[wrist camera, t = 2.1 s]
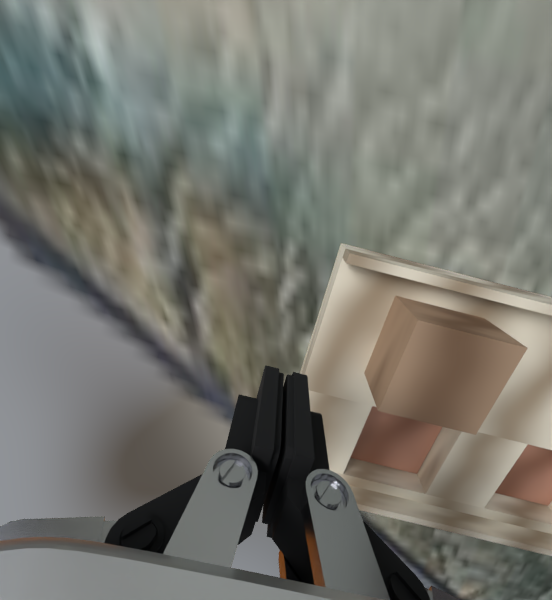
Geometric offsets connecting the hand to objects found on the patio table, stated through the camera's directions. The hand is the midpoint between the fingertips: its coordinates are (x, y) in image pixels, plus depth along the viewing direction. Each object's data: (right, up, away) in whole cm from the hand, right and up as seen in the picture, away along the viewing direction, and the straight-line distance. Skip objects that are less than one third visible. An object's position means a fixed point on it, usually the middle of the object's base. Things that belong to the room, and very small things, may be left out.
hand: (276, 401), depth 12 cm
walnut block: (+10, +1, +9) cm, 13 cm away
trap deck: (+17, -5, +12) cm, 21 cm away
